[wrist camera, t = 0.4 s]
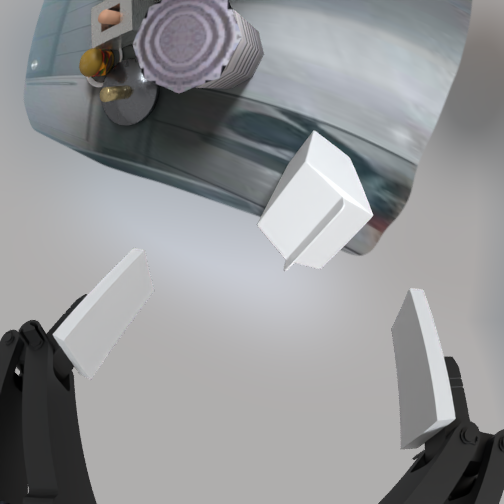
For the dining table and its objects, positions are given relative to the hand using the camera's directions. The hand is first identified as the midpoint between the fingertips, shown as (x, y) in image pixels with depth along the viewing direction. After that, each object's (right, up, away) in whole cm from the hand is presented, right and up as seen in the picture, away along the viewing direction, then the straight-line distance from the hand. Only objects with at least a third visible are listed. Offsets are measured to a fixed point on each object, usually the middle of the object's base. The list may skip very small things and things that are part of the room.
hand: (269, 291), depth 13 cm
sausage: (-18, +37, +15) cm, 44 cm away
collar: (-19, +37, +15) cm, 44 cm away
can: (-5, +28, +16) cm, 33 cm away
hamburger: (-25, +33, +20) cm, 46 cm away
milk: (+8, +14, +21) cm, 27 cm away
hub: (-19, +27, +21) cm, 39 cm away
